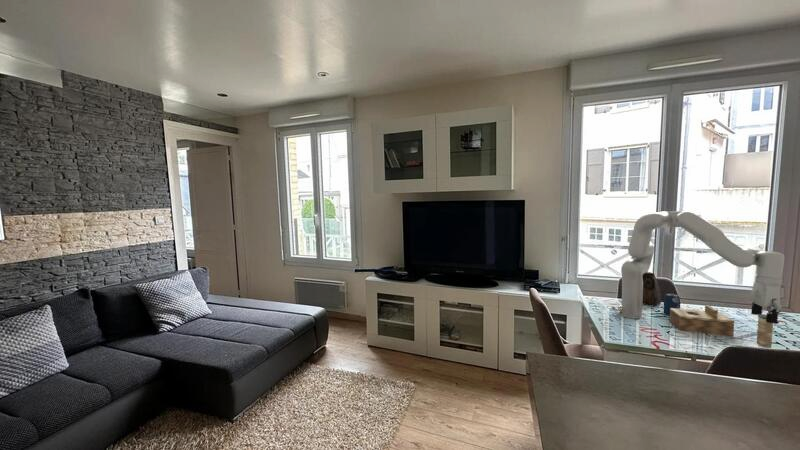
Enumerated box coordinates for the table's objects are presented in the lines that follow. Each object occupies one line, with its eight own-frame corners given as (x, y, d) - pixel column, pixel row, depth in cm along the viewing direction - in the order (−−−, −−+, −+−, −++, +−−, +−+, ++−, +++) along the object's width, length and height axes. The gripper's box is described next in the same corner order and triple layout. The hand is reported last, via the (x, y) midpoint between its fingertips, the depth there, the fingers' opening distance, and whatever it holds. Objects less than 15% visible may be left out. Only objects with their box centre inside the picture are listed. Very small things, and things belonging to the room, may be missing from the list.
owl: (656, 307, 191) (658, 274, 190) (631, 302, 201) (632, 271, 199) (662, 302, 199) (663, 271, 198) (637, 297, 209) (639, 267, 207)
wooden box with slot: (679, 332, 157) (680, 318, 156) (669, 323, 168) (670, 310, 167) (733, 338, 149) (734, 323, 149) (719, 328, 160) (720, 314, 160)
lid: (680, 317, 156) (680, 308, 156) (670, 309, 167) (670, 301, 167) (734, 323, 148) (734, 313, 148) (720, 314, 160) (720, 305, 159)
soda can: (681, 318, 173) (682, 297, 172) (665, 316, 176) (666, 295, 175) (677, 314, 179) (678, 293, 178) (661, 312, 182) (662, 292, 181)
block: (760, 348, 139) (763, 316, 138) (755, 344, 142) (757, 313, 141) (771, 349, 138) (774, 317, 137) (766, 345, 141) (768, 314, 140)
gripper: (744, 274, 147) (740, 310, 149) (770, 284, 131) (765, 324, 133) (766, 276, 144) (761, 312, 146) (795, 286, 128) (790, 327, 130)
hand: (763, 318), depth 139 cm, fingers open, 9 cm apart
